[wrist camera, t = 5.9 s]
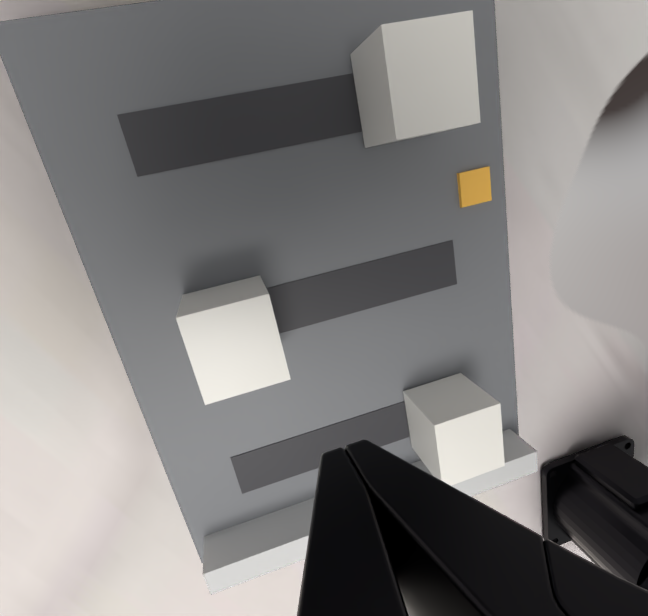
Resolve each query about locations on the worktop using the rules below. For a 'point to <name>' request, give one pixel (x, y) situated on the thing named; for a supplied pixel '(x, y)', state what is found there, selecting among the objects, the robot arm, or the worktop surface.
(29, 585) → the worktop surface
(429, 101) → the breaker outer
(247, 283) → the block
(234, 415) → the breaker panel
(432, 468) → the block
